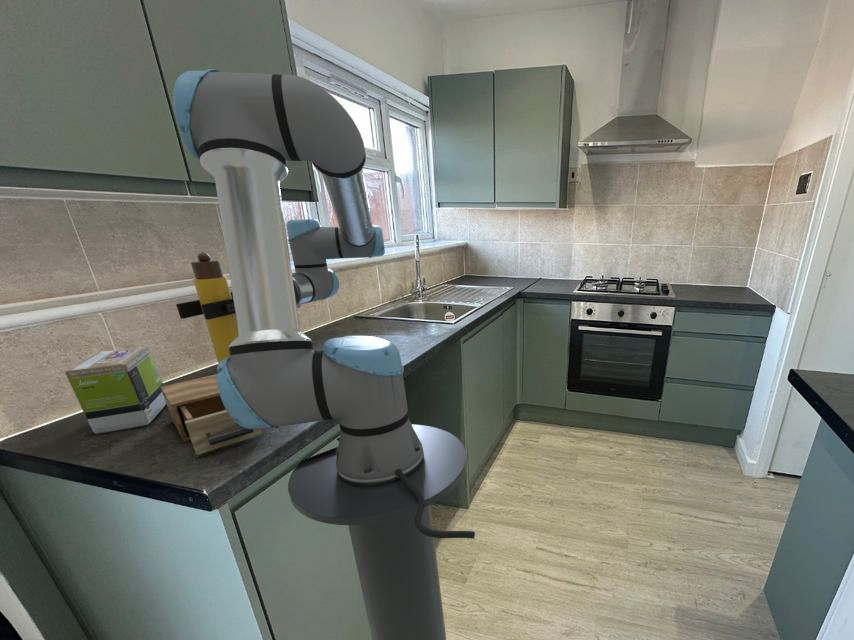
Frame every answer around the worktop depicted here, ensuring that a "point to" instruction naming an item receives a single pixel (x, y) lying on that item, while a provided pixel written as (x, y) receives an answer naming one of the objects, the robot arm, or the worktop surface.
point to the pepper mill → (212, 290)
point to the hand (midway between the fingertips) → (192, 311)
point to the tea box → (118, 389)
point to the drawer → (212, 425)
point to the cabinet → (188, 398)
